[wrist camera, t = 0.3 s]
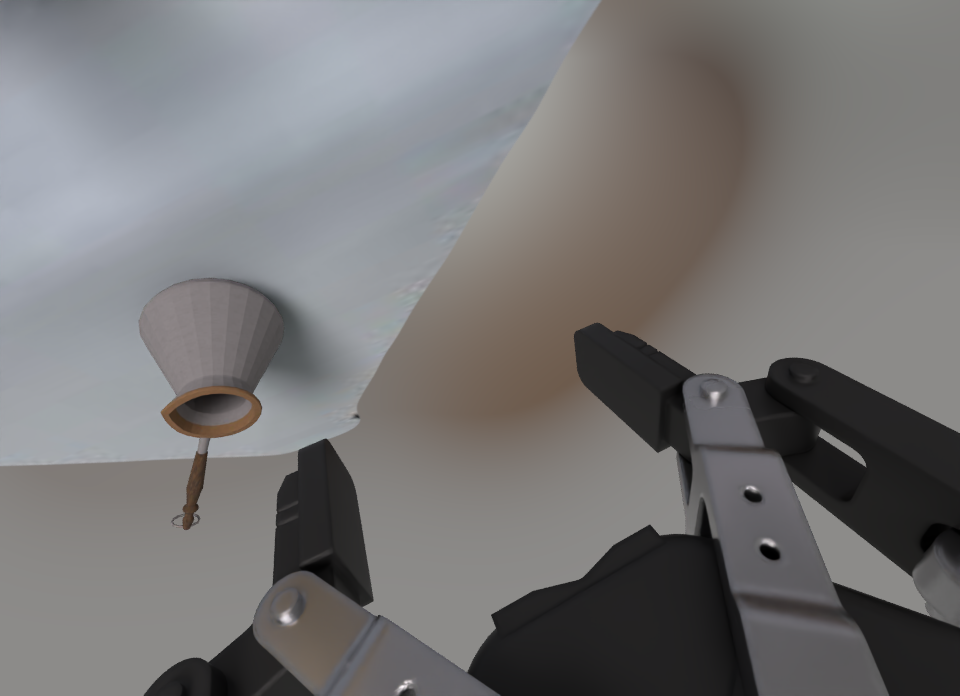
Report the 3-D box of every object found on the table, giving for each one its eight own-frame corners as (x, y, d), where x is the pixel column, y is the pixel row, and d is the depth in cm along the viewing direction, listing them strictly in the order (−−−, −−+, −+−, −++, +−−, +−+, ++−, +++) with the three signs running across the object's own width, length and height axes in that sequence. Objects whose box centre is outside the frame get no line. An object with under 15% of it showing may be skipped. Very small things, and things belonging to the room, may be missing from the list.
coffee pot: (150, 247, 33) (123, 383, 24) (295, 279, 41) (316, 393, 32) (127, 408, 44) (103, 544, 35) (246, 410, 51) (251, 524, 42)
